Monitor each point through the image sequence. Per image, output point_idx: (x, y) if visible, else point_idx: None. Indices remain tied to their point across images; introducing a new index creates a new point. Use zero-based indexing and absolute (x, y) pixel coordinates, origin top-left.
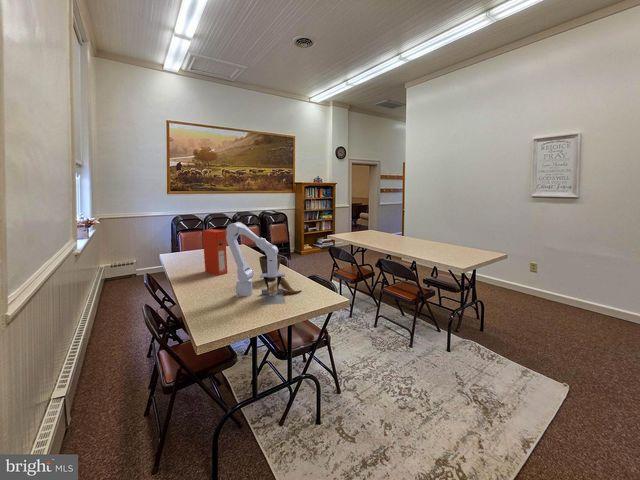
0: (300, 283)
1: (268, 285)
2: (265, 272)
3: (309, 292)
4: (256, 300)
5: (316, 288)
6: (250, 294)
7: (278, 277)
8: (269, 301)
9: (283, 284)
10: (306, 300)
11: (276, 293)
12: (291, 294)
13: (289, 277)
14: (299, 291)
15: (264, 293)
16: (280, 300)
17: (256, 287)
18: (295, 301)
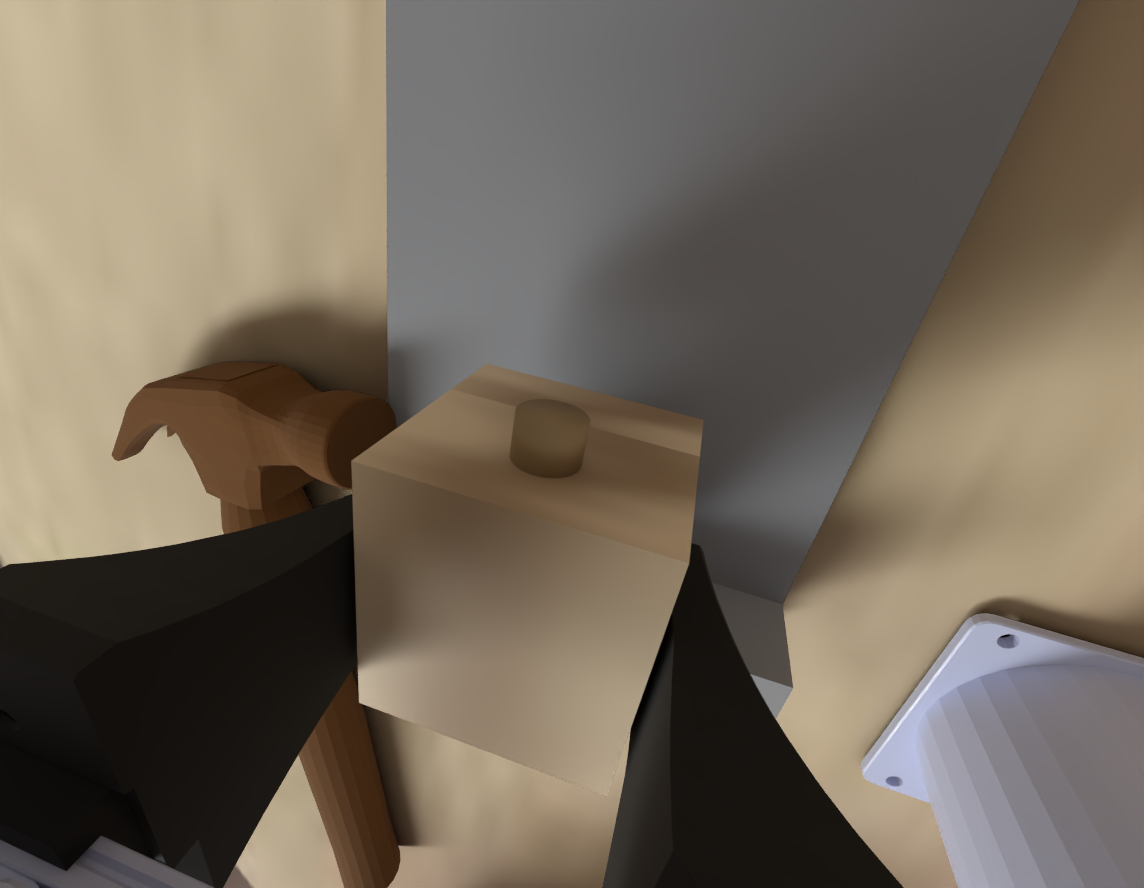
0: None
1: (682, 579)
2: None
3: (54, 401)
4: (994, 423)
5: (4, 496)
6: (1024, 692)
7: (59, 784)
8: (780, 103)
9: (367, 761)
10: (19, 18)
11: None
12: (260, 366)
13: (312, 875)
14: (130, 412)
15: (727, 600)
16: (491, 88)
17: None
18: (207, 29)
